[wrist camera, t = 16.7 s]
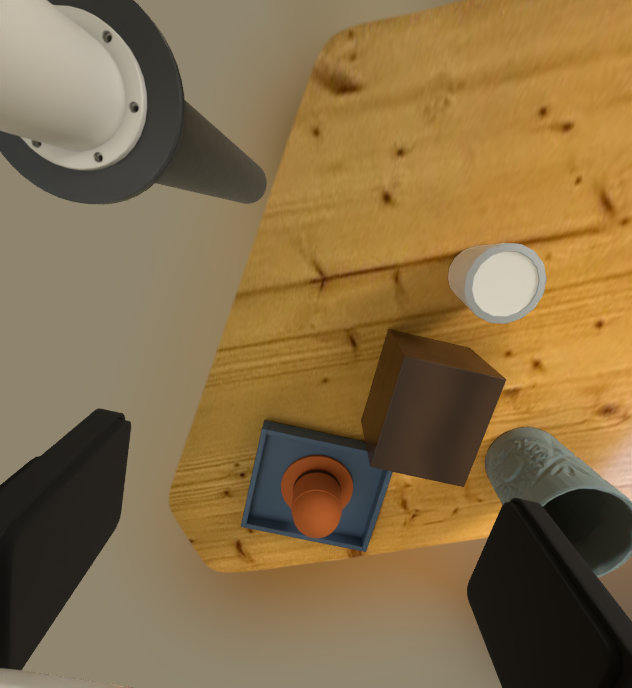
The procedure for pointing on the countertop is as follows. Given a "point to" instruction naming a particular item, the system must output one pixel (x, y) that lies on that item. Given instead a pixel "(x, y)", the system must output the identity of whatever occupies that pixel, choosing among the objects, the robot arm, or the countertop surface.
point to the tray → (294, 443)
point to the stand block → (428, 408)
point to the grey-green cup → (564, 494)
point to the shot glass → (498, 280)
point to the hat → (316, 493)
